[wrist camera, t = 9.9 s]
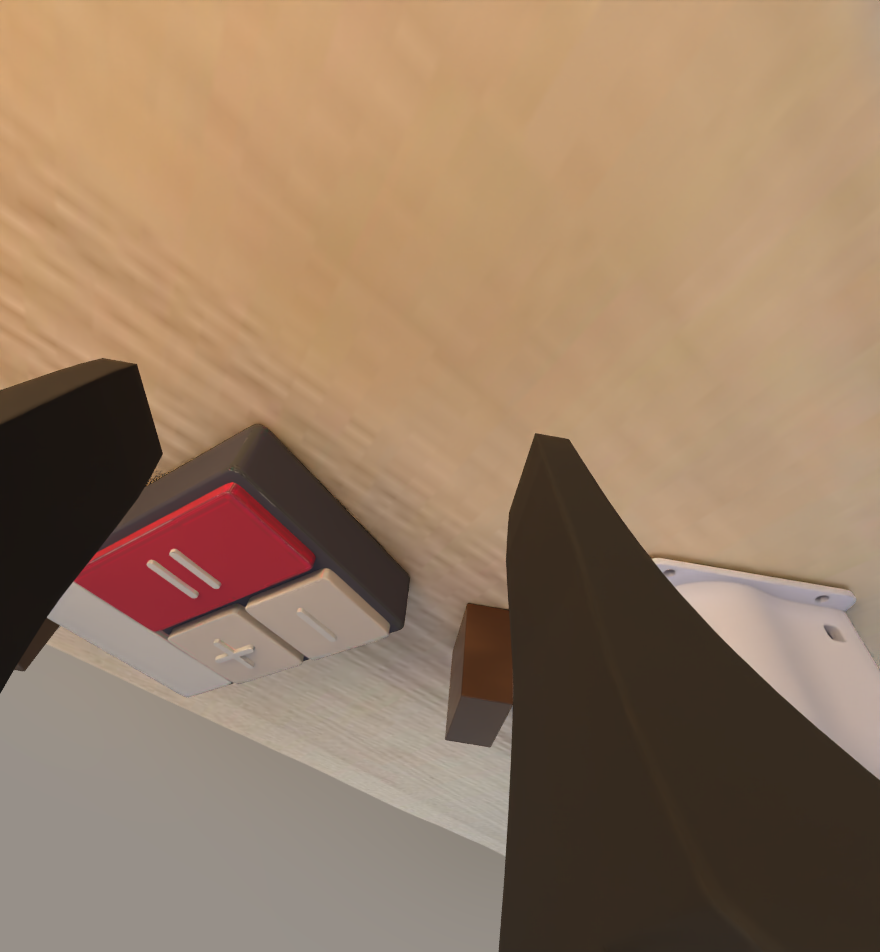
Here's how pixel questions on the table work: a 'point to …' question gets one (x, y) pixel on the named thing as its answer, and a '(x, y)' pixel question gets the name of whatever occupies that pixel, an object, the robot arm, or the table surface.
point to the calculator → (234, 573)
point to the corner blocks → (471, 683)
